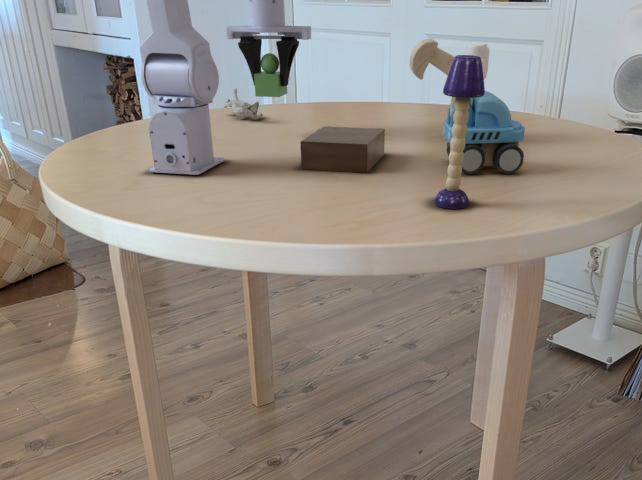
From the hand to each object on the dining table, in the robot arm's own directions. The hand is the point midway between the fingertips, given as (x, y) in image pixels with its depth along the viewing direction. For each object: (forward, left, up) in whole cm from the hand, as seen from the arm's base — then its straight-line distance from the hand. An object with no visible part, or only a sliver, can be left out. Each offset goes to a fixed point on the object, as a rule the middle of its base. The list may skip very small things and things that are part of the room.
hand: (271, 85), depth 115 cm
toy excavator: (-17, -36, -9) cm, 40 cm away
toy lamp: (-36, -37, -9) cm, 52 cm away
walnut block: (-17, -18, -8) cm, 26 cm away
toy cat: (+15, +12, -9) cm, 22 cm away
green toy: (0, 0, -2) cm, 2 cm away
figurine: (+5, -35, -9) cm, 36 cm away
